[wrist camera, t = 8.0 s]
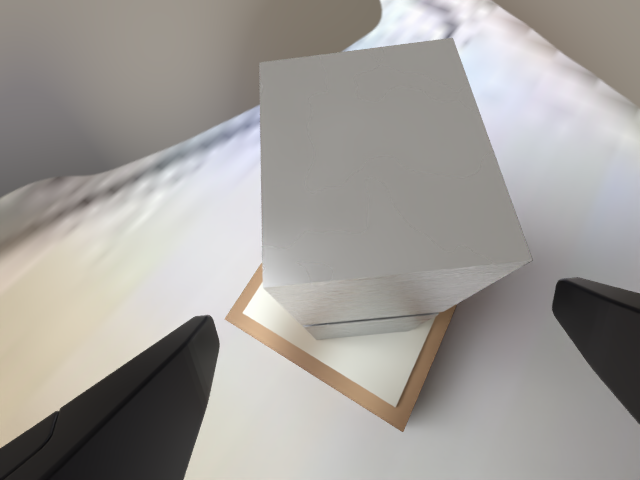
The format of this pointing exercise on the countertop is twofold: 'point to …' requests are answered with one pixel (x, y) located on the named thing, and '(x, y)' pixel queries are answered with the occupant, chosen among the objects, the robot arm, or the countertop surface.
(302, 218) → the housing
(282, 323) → the stand
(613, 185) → the countertop surface
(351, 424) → the countertop surface
